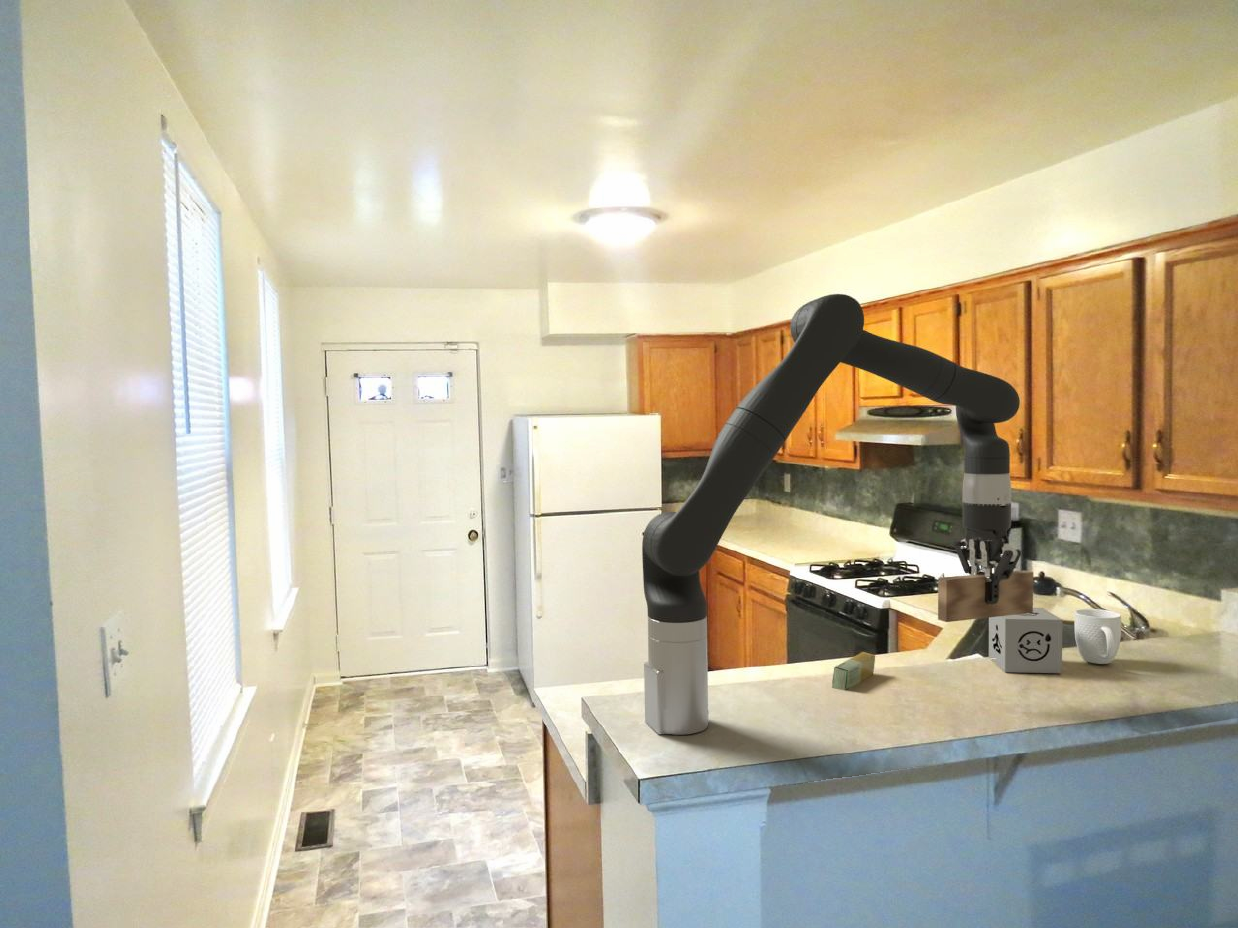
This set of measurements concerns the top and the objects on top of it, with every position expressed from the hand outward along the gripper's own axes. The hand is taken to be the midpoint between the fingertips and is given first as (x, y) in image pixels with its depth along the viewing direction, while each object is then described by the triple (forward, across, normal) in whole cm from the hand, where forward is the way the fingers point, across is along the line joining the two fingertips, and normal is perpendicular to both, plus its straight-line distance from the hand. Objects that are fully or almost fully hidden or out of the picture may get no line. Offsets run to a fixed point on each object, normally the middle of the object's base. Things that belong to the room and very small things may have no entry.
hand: (986, 601), depth 143 cm
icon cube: (+17, -12, +20) cm, 29 cm away
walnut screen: (+2, 0, 0) cm, 2 cm away
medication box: (+17, -15, -16) cm, 28 cm away
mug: (+17, -8, +34) cm, 39 cm away
